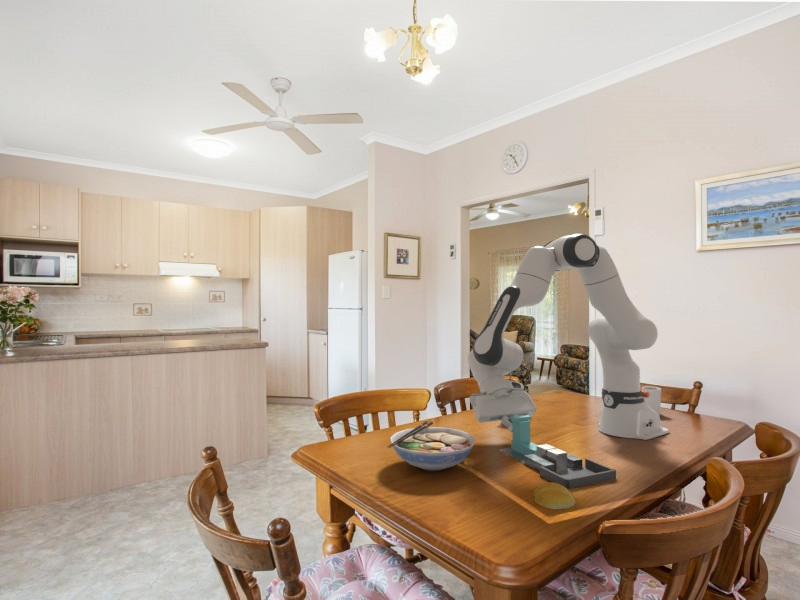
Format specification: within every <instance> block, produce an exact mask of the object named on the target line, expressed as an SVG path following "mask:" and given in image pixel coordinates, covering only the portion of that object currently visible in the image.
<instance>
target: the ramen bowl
mask: <svg viewBox="0 0 800 600" xmlns="http://www.w3.org/2000/svg"><path fill="white" fill-rule="evenodd" d="M433 422H434V421H430V422H428V421H427V420H425V421H423V422H422V423H421V424H419V425H418V426H416V427H414V428H413V427H412V428H406V429H404V430H400V431H397V432H394V433H393V434H392V435H391V436H390V437H389V438H390V443H391V444H389V445H388V446H387V448H389V449H390V448H393V449H394V451H395V452H396V454H397V455H398V456H399V458H400V459H402V461H405V462H406V463H407V464H409V465H410V466H413V467H417V468H420V469H421V470H423V471H429V472H438V471H443V470H445V469H448V468H451V467H454V466H456V465H458V464H460V463H462V462H463V461H464V460H465V459H466V458H468V456H469V454H470V453H471V451H472V449H473V446H474V445H475V443H476V438H475V437H474V436H473V434H470V433H468V432H466V431H463V430H460V429H455V428H449V427H440V426H439V427H438V426H432V425H433V424H434V423H433Z"/></svg>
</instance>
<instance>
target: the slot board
mask: <svg viewBox="0 0 800 600" xmlns="http://www.w3.org/2000/svg"><path fill="white" fill-rule="evenodd" d="M497 450H498V451H500V452H502V454H503V453H504V454H505V455H508V456H510V457H512V458H514V459H515V460H517V461H519V462H521V463H523V464H525V465H527V466H528V467H530V468H532V469H534V470H536V471H538V472H540V467H541V466H542V467H544V468H546V469H548V470H550V471H552V472H558V471H564V470H569V469H574V468H580V467H584V466H583V458H581V457H578V456H576V455H573V454H571V453H569V452H567V469H561V470H555V464H553V463H551V462H549V461H547V460H545V459H543V458H541V457H539V456H536V455H534V454H531V455H523V454H521V453H519V452H517V451H515V450H513V449H511V447H506V448H505V447H504V448H498V449H497Z"/></svg>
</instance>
